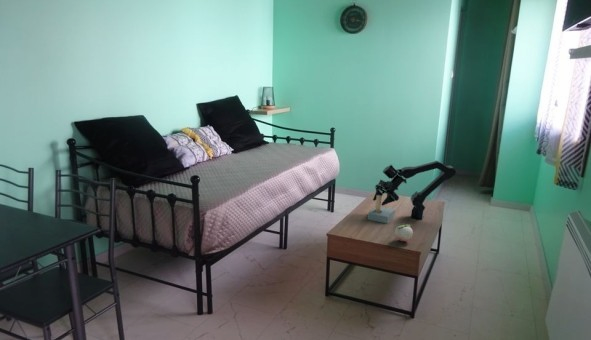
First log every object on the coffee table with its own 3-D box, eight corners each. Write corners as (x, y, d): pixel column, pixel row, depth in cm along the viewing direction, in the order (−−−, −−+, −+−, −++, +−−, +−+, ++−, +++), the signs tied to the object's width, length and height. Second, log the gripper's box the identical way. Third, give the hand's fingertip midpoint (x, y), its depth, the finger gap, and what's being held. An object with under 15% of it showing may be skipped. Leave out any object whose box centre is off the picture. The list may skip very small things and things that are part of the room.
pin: (380, 217, 247) (382, 195, 243) (378, 218, 244) (380, 196, 241) (375, 216, 248) (377, 194, 245) (373, 217, 245) (375, 196, 242)
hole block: (394, 215, 251) (395, 209, 250) (387, 223, 237) (387, 217, 236) (375, 211, 256) (376, 205, 255) (367, 219, 243) (368, 213, 242)
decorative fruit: (403, 246, 206) (405, 228, 204) (391, 240, 213) (393, 223, 210) (415, 242, 212) (417, 224, 210) (403, 237, 218) (405, 219, 216)
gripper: (378, 171, 250) (362, 190, 248) (396, 179, 233) (378, 199, 232) (388, 182, 254) (372, 201, 253) (406, 191, 238) (389, 210, 236)
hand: (377, 202), depth 243 cm, fingers open, 9 cm apart
